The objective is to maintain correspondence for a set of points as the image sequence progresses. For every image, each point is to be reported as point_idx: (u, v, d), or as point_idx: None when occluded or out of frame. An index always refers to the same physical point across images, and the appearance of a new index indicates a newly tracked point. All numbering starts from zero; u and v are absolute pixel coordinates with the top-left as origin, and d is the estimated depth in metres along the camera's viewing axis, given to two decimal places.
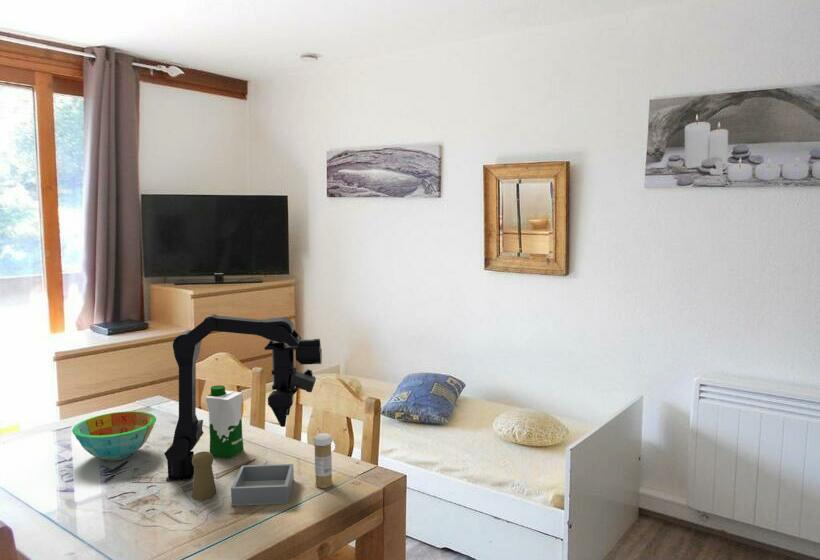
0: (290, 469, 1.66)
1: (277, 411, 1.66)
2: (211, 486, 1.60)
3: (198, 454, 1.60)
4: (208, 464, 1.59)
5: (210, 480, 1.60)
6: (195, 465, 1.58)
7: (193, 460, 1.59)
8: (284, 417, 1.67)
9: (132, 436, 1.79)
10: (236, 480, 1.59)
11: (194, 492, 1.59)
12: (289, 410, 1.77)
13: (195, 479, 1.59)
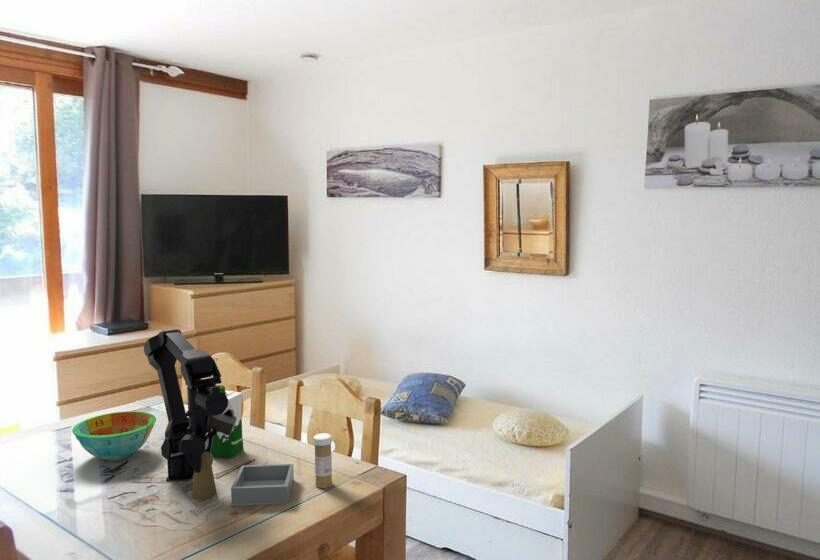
0: (290, 469, 1.66)
1: (190, 456, 1.54)
2: (211, 486, 1.60)
3: None
4: (208, 464, 1.59)
5: (210, 480, 1.60)
6: None
7: None
8: (198, 463, 1.55)
9: (132, 436, 1.79)
10: (236, 480, 1.59)
11: (194, 492, 1.59)
12: None
13: (195, 479, 1.59)
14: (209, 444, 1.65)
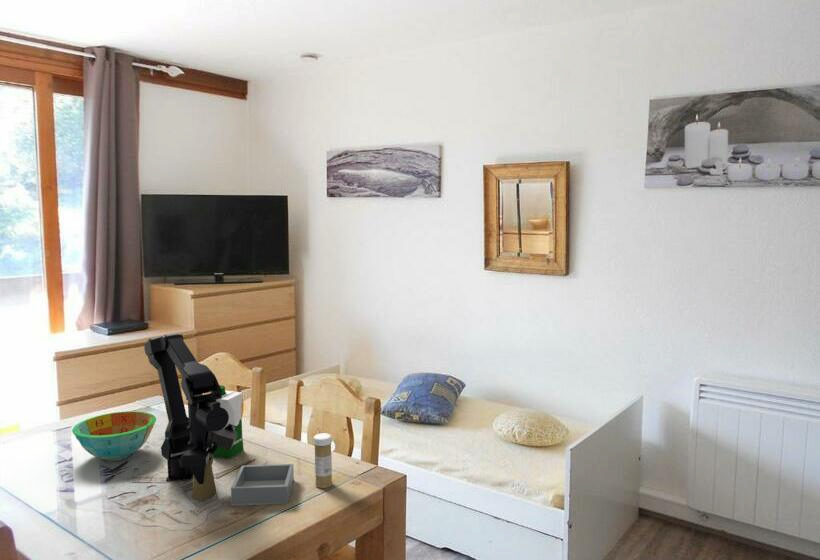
0: (290, 469, 1.66)
1: (194, 468, 1.57)
2: (211, 486, 1.60)
3: None
4: (208, 464, 1.59)
5: (210, 480, 1.60)
6: None
7: None
8: (202, 474, 1.57)
9: (132, 436, 1.79)
10: (236, 480, 1.59)
11: (194, 492, 1.59)
12: None
13: (195, 479, 1.59)
14: None
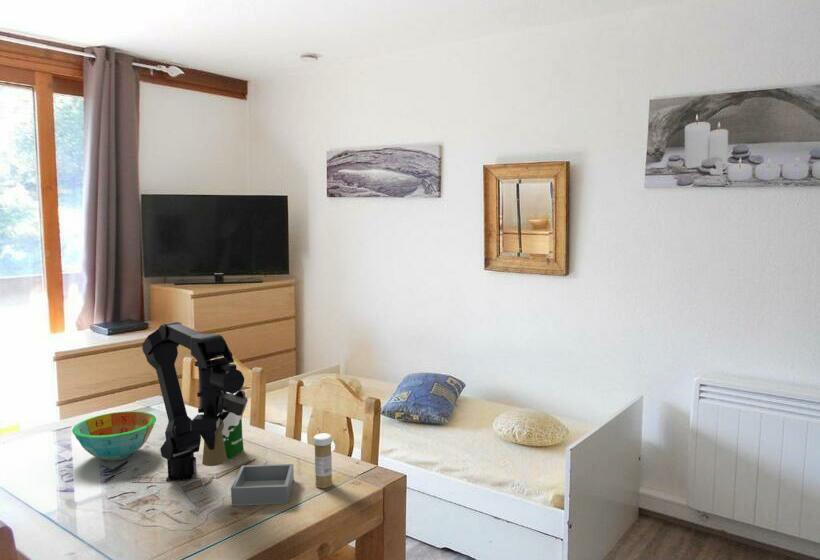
0: (290, 469, 1.66)
1: (204, 433, 1.56)
2: (222, 452, 1.59)
3: None
4: (218, 430, 1.58)
5: (221, 446, 1.59)
6: None
7: None
8: (212, 439, 1.56)
9: (132, 435, 1.79)
10: (236, 480, 1.59)
11: (204, 458, 1.58)
12: None
13: (205, 445, 1.58)
14: None
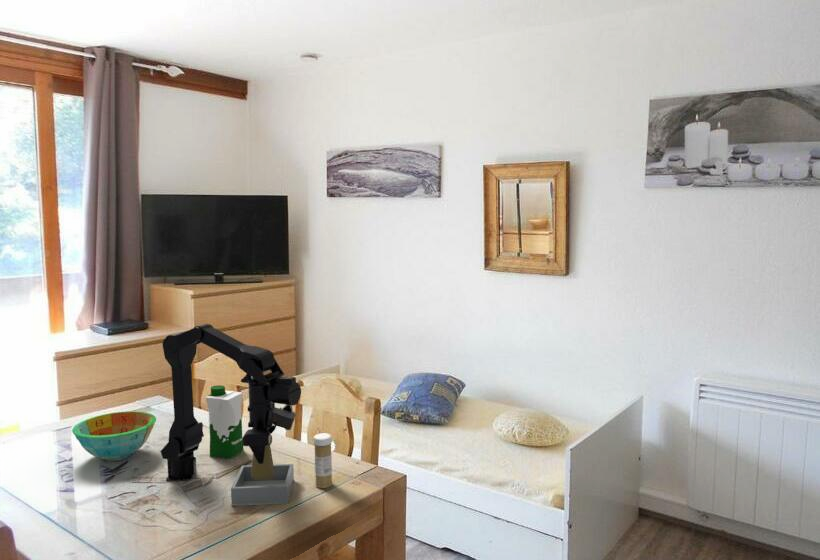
0: (290, 469, 1.66)
1: (254, 447, 1.57)
2: (270, 465, 1.61)
3: None
4: None
5: (270, 460, 1.60)
6: None
7: None
8: (262, 454, 1.58)
9: (132, 436, 1.79)
10: (236, 480, 1.59)
11: (253, 472, 1.60)
12: None
13: (255, 459, 1.60)
14: None
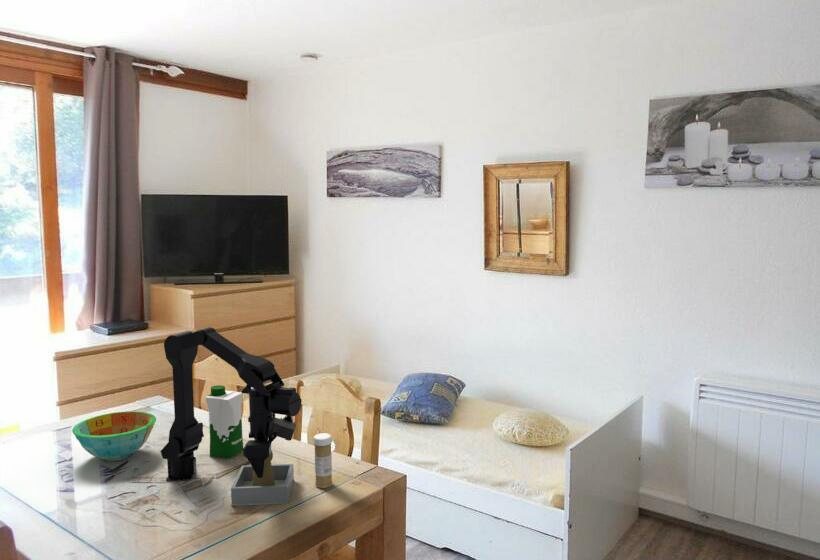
0: (290, 469, 1.66)
1: (254, 462, 1.55)
2: (271, 481, 1.61)
3: None
4: (268, 460, 1.60)
5: (270, 475, 1.61)
6: None
7: None
8: (261, 468, 1.56)
9: (132, 436, 1.79)
10: (236, 480, 1.59)
11: None
12: None
13: (255, 475, 1.60)
14: None
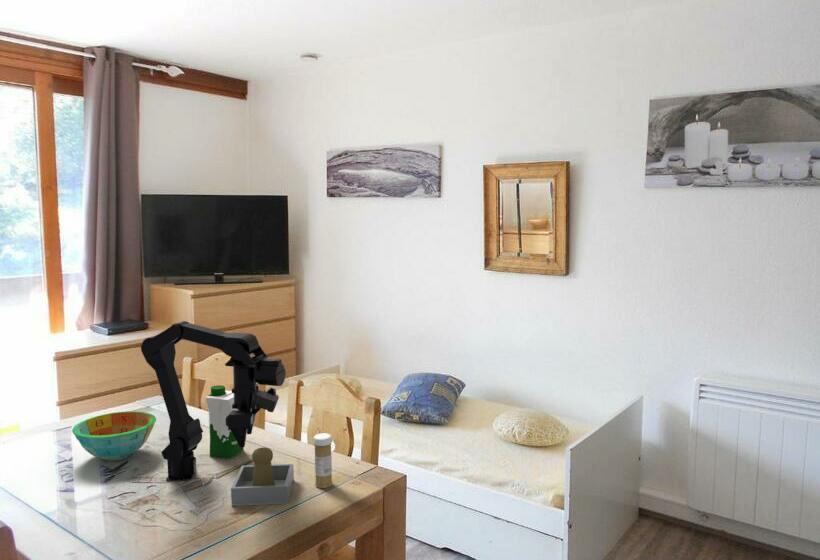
0: (290, 469, 1.66)
1: (236, 431, 1.60)
2: (271, 481, 1.61)
3: (258, 450, 1.61)
4: (268, 460, 1.60)
5: (270, 475, 1.61)
6: (256, 461, 1.59)
7: (254, 456, 1.60)
8: (243, 438, 1.61)
9: (132, 436, 1.79)
10: (236, 480, 1.59)
11: None
12: (251, 429, 1.71)
13: (255, 475, 1.60)
14: None
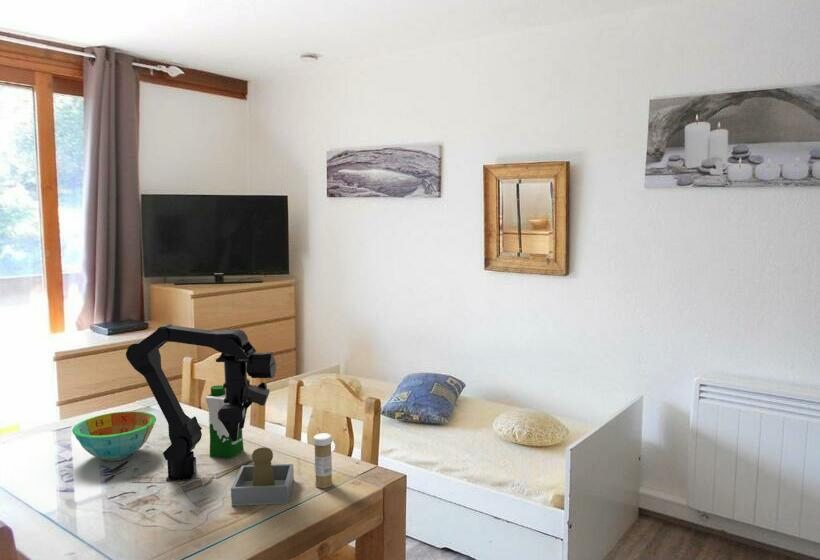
0: (290, 469, 1.66)
1: (228, 425, 1.64)
2: (271, 481, 1.61)
3: (258, 450, 1.61)
4: (268, 460, 1.60)
5: (270, 475, 1.61)
6: (256, 461, 1.59)
7: (254, 456, 1.60)
8: (235, 431, 1.65)
9: (132, 436, 1.79)
10: (236, 480, 1.59)
11: None
12: (243, 423, 1.75)
13: (255, 475, 1.60)
14: None
